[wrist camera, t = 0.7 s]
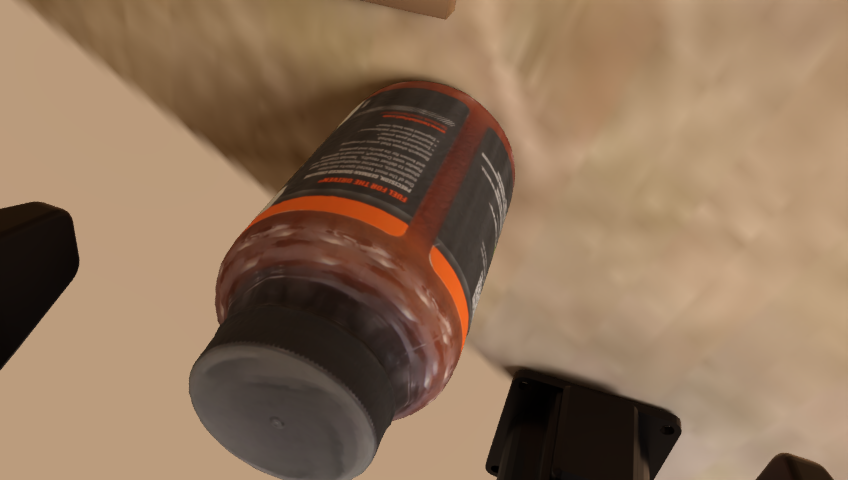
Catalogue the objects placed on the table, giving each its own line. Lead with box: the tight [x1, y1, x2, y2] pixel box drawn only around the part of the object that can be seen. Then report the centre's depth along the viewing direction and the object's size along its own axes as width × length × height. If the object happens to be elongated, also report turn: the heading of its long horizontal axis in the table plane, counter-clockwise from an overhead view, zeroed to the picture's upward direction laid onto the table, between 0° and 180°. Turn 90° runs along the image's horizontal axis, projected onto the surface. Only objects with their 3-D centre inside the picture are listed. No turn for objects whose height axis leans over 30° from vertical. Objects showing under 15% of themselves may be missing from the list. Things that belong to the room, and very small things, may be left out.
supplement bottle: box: [189, 81, 515, 480], centre depth 17 cm, size 6×6×11 cm
